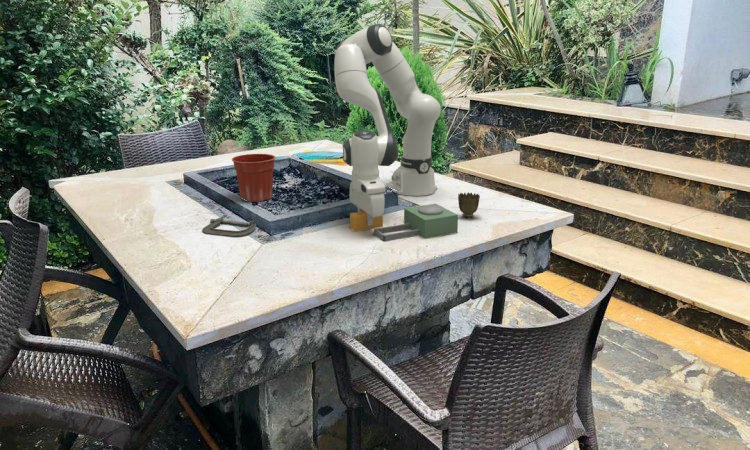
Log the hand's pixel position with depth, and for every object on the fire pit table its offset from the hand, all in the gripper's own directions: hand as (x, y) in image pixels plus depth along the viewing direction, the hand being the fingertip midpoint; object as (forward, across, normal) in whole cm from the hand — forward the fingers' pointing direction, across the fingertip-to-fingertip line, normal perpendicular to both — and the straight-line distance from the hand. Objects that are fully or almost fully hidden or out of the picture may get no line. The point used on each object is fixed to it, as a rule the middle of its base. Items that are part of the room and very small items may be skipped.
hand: (366, 222), depth 190 cm
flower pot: (+2, -51, -24) cm, 56 cm away
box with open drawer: (+2, +11, +12) cm, 16 cm away
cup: (+2, +6, +36) cm, 37 cm away
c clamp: (+2, -20, -40) cm, 45 cm away
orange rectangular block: (+2, 0, 0) cm, 2 cm away
